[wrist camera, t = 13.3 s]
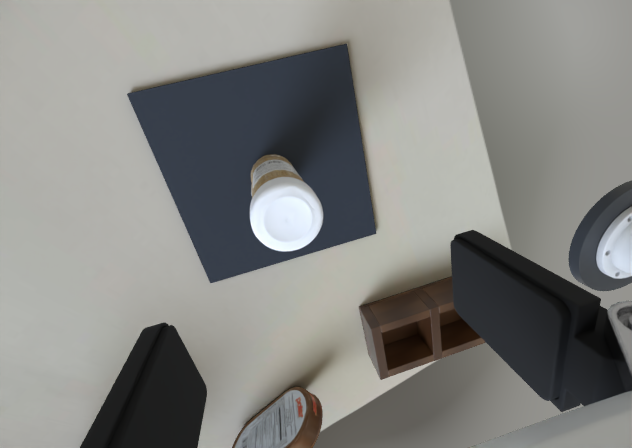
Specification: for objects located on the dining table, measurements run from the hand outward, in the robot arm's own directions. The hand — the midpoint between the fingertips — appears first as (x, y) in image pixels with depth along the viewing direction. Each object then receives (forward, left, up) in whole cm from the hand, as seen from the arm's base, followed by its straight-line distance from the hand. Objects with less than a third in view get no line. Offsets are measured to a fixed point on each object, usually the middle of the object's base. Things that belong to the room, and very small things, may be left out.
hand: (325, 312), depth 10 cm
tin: (+10, +33, -23) cm, 41 cm away
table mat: (0, 0, -23) cm, 23 cm away
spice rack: (-14, +24, -23) cm, 36 cm away
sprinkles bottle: (0, 0, -23) cm, 23 cm away
